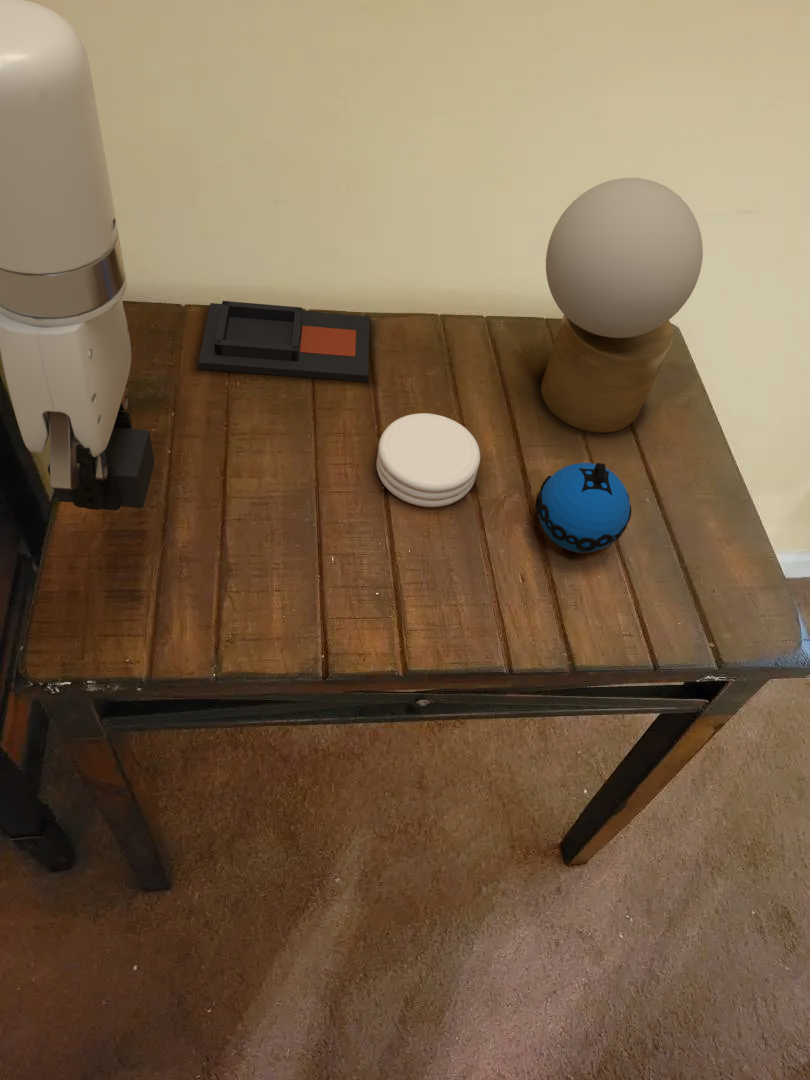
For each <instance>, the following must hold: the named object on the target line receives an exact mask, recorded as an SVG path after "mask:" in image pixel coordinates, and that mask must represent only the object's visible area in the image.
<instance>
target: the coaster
mask: <svg viewBox="0 0 810 1080" xmlns="http://www.w3.org/2000/svg"><path fill="white" fill-rule="evenodd" d="M376 456H377V457H376V464H375V465H376V471H377V474H378V478H379V479H380V482H381V483H382V484H383V486H384V487H385V488H386V490H387V491H388V492H390V493H391V494H392V495H393V496H394V497H396V498H398V499H399V500H401V501H403V502H405V503H407V504H410V505H414V506H418V507H423V508H440V507H446V506H450V505H452V504H455V503H456V502H459V501H460V500H462V499H463V498H464V497H465V496H466V495H467V494H468V493H469V492H470V491H471V489H472V488H473V487H474V484H475V481H476V479H477V475H478V471H479V468H480V463H481V450H480V447H479V444H478V442H477V439H476V438H475V437H474V435H473V434H472V432H470V431H469V430H468V429H467V428H466V427H465V426H464V425H462V424H460V423H459V422H457V421H456V420H453V419H451V418H449V417H446V416H444V415H439V414H435V413H427V412H423V413H420V412H419V413H411V414H408V415H404V416H402V417H399V418H397V419H396V420H394V421H392V422H391V423H390V424H389V425H388V426H387V427H386V428H385V429H384V430H383V432H382V434H381V435H380V438H379V440H378V449H377V455H376Z"/></svg>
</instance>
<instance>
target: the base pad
mask: <svg viewBox="0 0 810 1080" xmlns="http://www.w3.org/2000/svg"><path fill="white" fill-rule="evenodd" d="M206 318H207V319H206V323H205V328H204V332H203V338H202V342H201V343H202V344H201V347H200V352H199V356H198V362H197V363H198V365H197V366H198V370H204V371H205V370H206V371H219V372H228V373H229V372H231V373H241V374H242V373H245V374H257V375H270V376H282V377H296V378H308V379H309V378H310V379H323V380H334V381H336V380H337V381H347V382H360V383H361V382H362V383H368V382H369V367H370V366H369V364H370V363H369V361H370V316H369V315H357V314H345V313H333V312H321V311H311V310H310V311H309V310H303V307H301V306H289V305H288V306H287V305H277V304H265V303H253V302H243V301H232V300H231V301H230V300H222V301H221V303H216V302H211V303H210V304H209V309H208V312H207V317H206Z"/></svg>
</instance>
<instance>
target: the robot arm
mask: <svg viewBox="0 0 810 1080" xmlns="http://www.w3.org/2000/svg"><path fill="white" fill-rule="evenodd" d="M90 66H91V65H90V62H89V58H88V54H87V51H86V47H85V45H84V43H83V41H82V39H81V37H80V35H79V33H78V32H77V31H76V29H75V28H74V27H73V26H72V25H71V24H70V22H68V20H67V19H65V18H64V17H63V16H61V15H60V14H59V13H57V12H55V11H54V10H52V9H51V8H49V7H46V6H44V5H42V4H39V3H36V2H33V1H29V0H0V357H1V363H2V368H3V372H4V376H5V380H6V385H7V389H8V392H9V396H10V400H11V404H12V408H13V412H14V415H15V419H16V421H17V426H18V428H19V431H20V435H21V438H22V441H23V444H24V445H25V447H26V449H27V450H28V451H29V452H31V453H37V454H38V453H39V454H44V451H45V448H46V445H47V443H48V441H49V445H48V446H49V447H48V448H49V464H50V476H49V481H50V483H49V484H50V488H51V489H52V490H54V489H62V490H69V491H70V494H71V498H72V501H73V502H72V504H73V505H74V506H75V507H77V508H81V509H87V510H94V511H99V510H105V511H106V510H108V511H119V510H120V509H121V507H122V506H121V498H120V494H119V490H118V485H117V481H116V477H115V473H114V469H113V468H111V467H107V459H106V452H105V449H106V447H107V445H108V442H109V439H110V436H111V433H112V430H113V427H117V428H129V429H134V428H133V424H132V423H133V422H132V418H131V414H130V412H128V411H127V409H128V405H129V404H128V403H129V399H128V398H129V397H128V394H127V391H126V387H127V383H128V379H129V376H130V371H131V366H132V347H131V339H130V338H131V337H130V332H129V326H128V322H127V317H126V312H125V308H124V303H123V297H124V295H125V294H126V289H127V285H128V284H127V283H128V282H127V280H128V279H127V274H126V270H125V269H126V268H125V264H124V263H125V262H124V258H123V252H122V246H121V241H120V234H119V228H118V223H117V216H116V211H115V205H114V200H113V199H114V198H113V194H112V188H111V187H112V186H111V181H110V176H109V170H108V165H107V159H106V152H105V147H104V141H103V136H102V131H101V130H102V129H101V123H100V119H99V118H100V117H99V111H98V107H97V100H96V94H95V88H94V82H93V78H92V77H93V76H92V72H91V67H90ZM76 449H81V450H89V452H88V453H90V454H92V459H93V461H86V460H76Z"/></svg>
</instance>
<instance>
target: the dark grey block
mask: <svg viewBox="0 0 810 1080" xmlns="http://www.w3.org/2000/svg"><path fill="white" fill-rule="evenodd" d="M88 452H89V450H81V449H76V460H86V461H93V459H92V454H90V453H88ZM105 452H106V459H107V467H111V468H113V469H114V473H115V477H116V481H117V485H118V490H119V494H120V498H121V506H120V507H123V508H124V507H125V508H136V509H137V508H138V509H139V508H140V509H143V508H144V506H145V503H146V499H147V494H148V491H149V487H150V483H151V479H152V474H153V471H154V466H155V462H156V461H155V458H154V457H155V456H154V450H153V445H152V439H151V434H150V430H149V429H138V428H133V429H129V428H117V427H113V430H112V433H111V436H110V439H109V442H108V445H107V447H106V449H105ZM47 472H48V475H49V477H50V463H48V466H47ZM53 490H54V493H55V496H56V500H57V502H63V503H73V501H72V498H71V494H70V491H69V490H62V489H53Z"/></svg>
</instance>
